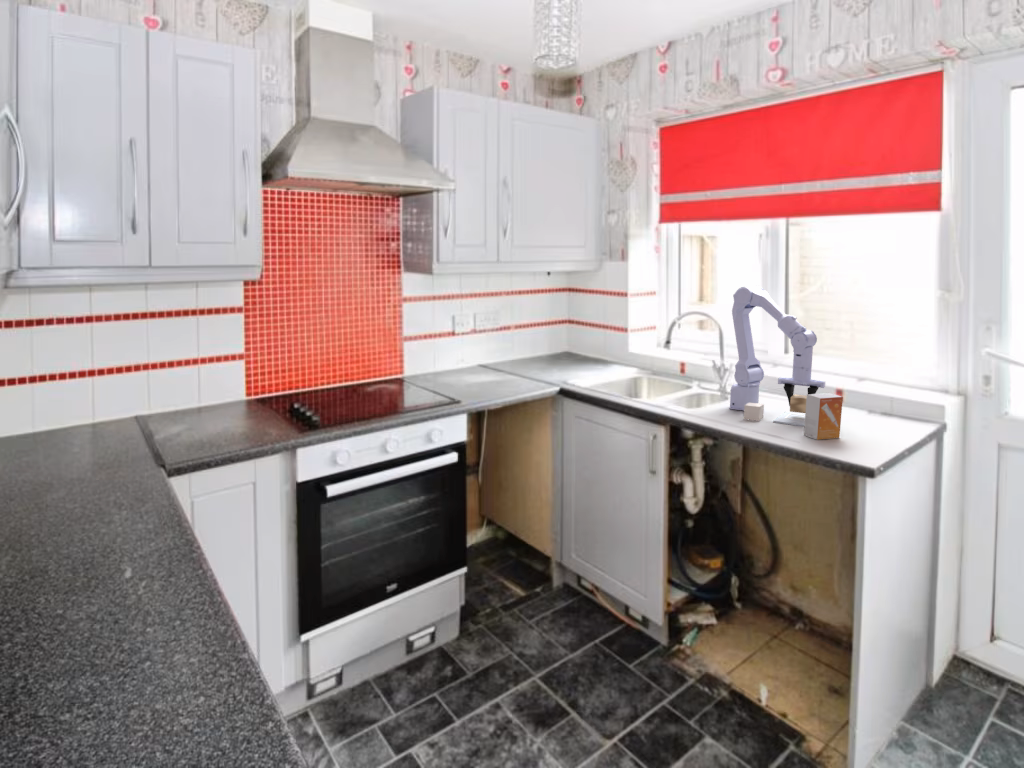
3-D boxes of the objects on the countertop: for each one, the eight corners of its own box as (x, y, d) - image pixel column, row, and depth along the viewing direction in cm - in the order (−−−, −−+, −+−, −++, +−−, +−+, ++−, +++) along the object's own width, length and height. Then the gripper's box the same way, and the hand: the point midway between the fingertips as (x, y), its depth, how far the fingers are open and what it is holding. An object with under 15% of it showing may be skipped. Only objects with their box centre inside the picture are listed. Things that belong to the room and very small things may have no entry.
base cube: (789, 411, 221) (790, 397, 220) (793, 408, 225) (794, 394, 224) (805, 413, 218) (806, 398, 217) (809, 410, 222) (810, 395, 221)
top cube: (743, 419, 224) (744, 405, 223) (748, 416, 227) (749, 402, 226) (758, 421, 221) (759, 406, 220) (763, 418, 224) (763, 404, 224)
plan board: (773, 422, 218) (773, 420, 218) (785, 413, 230) (785, 411, 230) (811, 427, 211) (811, 425, 211) (821, 417, 223) (822, 415, 223)
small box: (817, 440, 197) (820, 398, 194) (803, 435, 203) (805, 394, 200) (840, 438, 198) (843, 396, 196) (825, 433, 204) (828, 392, 202)
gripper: (776, 367, 220) (774, 406, 222) (823, 370, 211) (820, 411, 214) (781, 364, 225) (779, 402, 228) (827, 367, 217) (824, 407, 219)
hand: (799, 406), depth 221 cm, fingers closed on base cube, 5 cm apart
